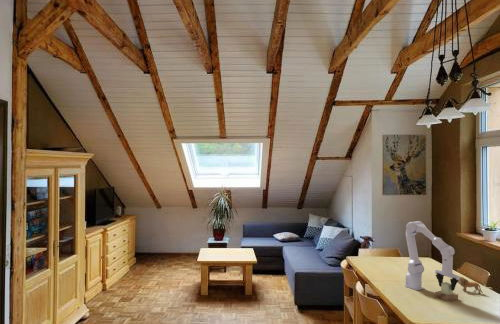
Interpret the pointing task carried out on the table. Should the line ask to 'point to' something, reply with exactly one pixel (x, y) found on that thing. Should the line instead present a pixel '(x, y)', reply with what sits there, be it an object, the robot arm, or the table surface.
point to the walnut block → (446, 296)
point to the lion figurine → (469, 284)
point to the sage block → (446, 288)
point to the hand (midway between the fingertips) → (446, 288)
